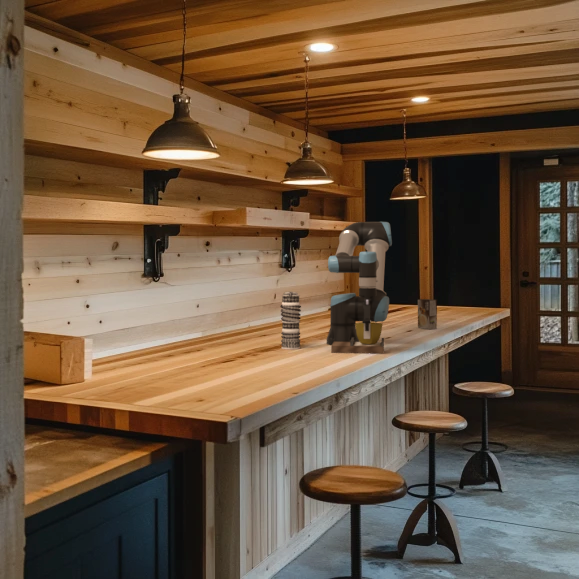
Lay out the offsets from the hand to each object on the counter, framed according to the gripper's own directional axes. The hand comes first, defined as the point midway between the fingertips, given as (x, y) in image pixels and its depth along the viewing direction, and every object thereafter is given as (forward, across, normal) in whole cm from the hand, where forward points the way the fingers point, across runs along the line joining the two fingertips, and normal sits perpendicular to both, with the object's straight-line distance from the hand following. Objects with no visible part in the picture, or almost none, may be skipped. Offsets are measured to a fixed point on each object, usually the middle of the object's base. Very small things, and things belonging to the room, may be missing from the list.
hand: (367, 336), depth 318 cm
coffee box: (+6, +94, -30) cm, 99 cm away
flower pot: (+3, -1, 0) cm, 3 cm away
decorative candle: (+6, +5, +34) cm, 35 cm away
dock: (+6, 0, +4) cm, 7 cm away
